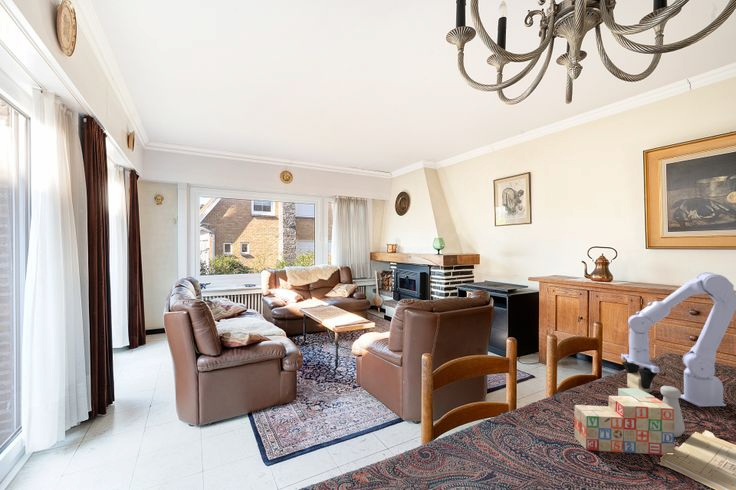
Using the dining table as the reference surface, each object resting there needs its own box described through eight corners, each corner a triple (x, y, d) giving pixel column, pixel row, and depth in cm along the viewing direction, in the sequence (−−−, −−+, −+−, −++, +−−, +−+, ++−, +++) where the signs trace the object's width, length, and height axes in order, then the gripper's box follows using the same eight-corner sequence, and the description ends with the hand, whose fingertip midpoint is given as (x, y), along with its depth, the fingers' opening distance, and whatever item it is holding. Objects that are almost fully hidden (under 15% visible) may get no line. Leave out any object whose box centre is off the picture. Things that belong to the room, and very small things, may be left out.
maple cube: (640, 386, 125) (640, 372, 125) (652, 392, 120) (651, 378, 120) (627, 386, 125) (627, 373, 125) (638, 392, 120) (638, 378, 120)
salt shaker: (678, 429, 97) (677, 384, 97) (689, 440, 92) (689, 393, 92) (653, 426, 99) (653, 382, 99) (663, 436, 94) (663, 390, 94)
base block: (637, 396, 118) (637, 387, 118) (655, 405, 111) (655, 396, 111) (618, 396, 118) (618, 388, 118) (634, 406, 111) (634, 397, 111)
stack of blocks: (586, 451, 88) (585, 404, 88) (574, 437, 94) (573, 393, 94) (675, 455, 85) (674, 407, 85) (656, 441, 92) (656, 396, 92)
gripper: (613, 342, 130) (613, 377, 130) (645, 354, 115) (645, 394, 115) (630, 342, 130) (631, 377, 130) (665, 354, 116) (665, 393, 116)
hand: (639, 385), depth 123 cm, fingers closed on maple cube, 5 cm apart
